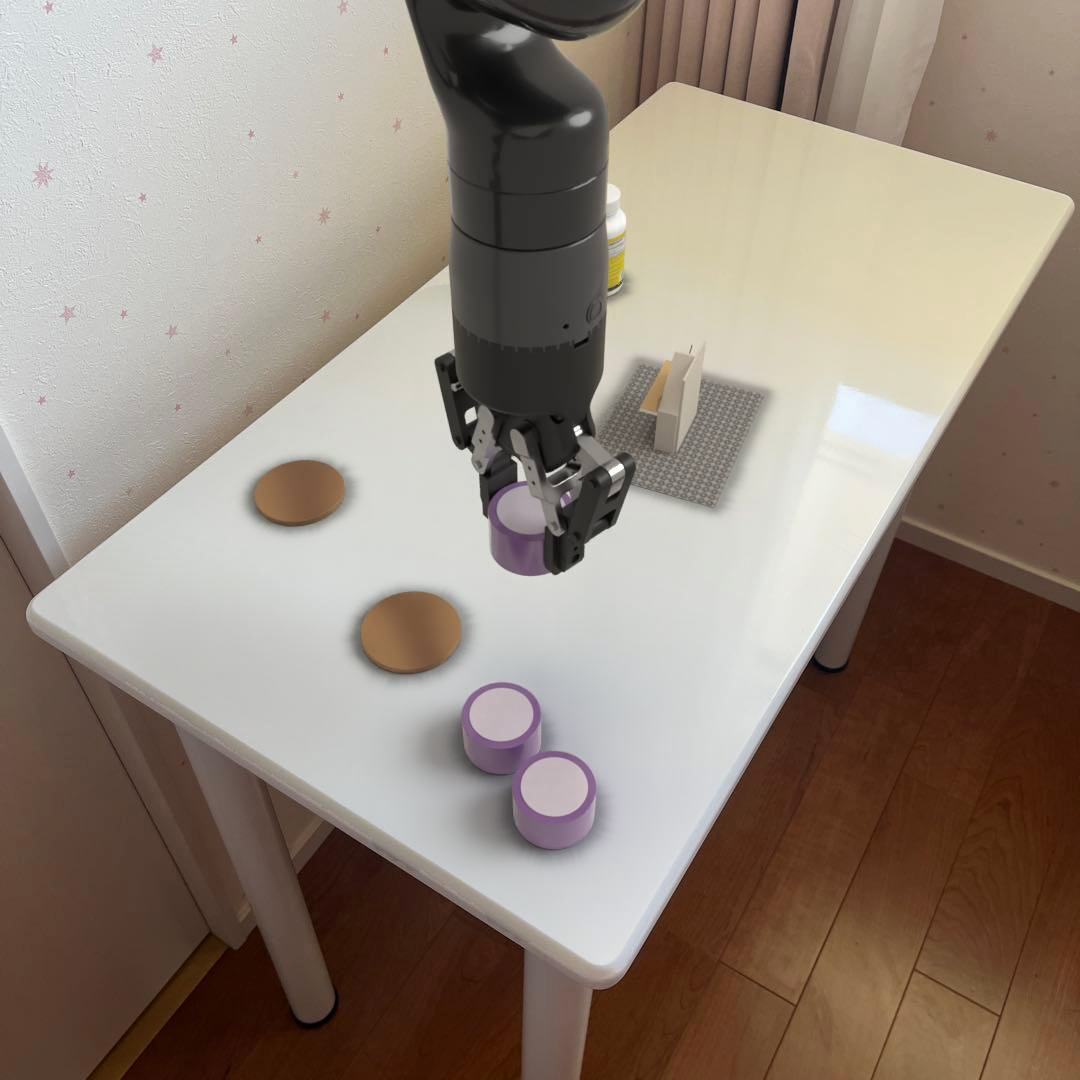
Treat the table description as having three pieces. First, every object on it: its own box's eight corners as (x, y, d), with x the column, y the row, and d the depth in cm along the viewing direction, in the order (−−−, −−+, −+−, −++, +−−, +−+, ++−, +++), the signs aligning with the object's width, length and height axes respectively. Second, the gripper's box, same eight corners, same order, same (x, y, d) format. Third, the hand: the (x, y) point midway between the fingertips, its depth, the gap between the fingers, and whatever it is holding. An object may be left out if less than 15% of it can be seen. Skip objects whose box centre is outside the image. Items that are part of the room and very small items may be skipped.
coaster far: (287, 539, 84) (285, 535, 83) (238, 492, 87) (236, 487, 87) (362, 496, 87) (361, 492, 86) (312, 452, 90) (311, 447, 90)
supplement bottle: (555, 280, 107) (556, 188, 100) (599, 262, 110) (603, 170, 102) (590, 307, 104) (593, 213, 97) (634, 287, 107) (641, 194, 99)
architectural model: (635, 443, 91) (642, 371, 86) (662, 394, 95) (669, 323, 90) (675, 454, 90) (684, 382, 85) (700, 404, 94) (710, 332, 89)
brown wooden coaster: (401, 691, 74) (400, 687, 74) (341, 630, 77) (340, 626, 77) (481, 636, 77) (481, 631, 77) (420, 580, 81) (419, 575, 80)
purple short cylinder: (526, 590, 63) (526, 554, 61) (472, 542, 66) (470, 506, 64) (590, 548, 66) (592, 512, 63) (535, 503, 68) (535, 467, 66)
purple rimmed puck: (551, 865, 65) (551, 840, 63) (496, 809, 68) (494, 783, 66) (611, 814, 68) (613, 788, 65) (556, 762, 70) (556, 735, 68)
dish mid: (498, 789, 69) (496, 762, 67) (448, 738, 71) (445, 711, 69) (557, 743, 71) (557, 716, 69) (506, 695, 74) (505, 668, 71)
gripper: (378, 261, 55) (408, 504, 67) (571, 399, 48) (565, 644, 60) (494, 210, 58) (502, 450, 71) (692, 331, 51) (662, 576, 63)
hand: (531, 538), depth 65 cm, fingers closed on purple short cylinder, 5 cm apart
